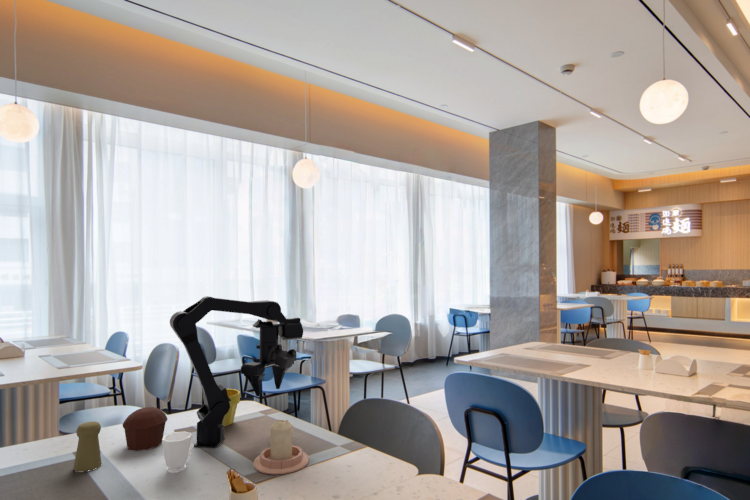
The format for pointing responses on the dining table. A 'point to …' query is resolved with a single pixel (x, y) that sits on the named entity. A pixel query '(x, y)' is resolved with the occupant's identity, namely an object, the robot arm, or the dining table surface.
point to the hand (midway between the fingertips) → (268, 392)
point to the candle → (281, 440)
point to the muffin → (144, 428)
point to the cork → (88, 447)
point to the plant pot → (231, 406)
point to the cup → (177, 450)
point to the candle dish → (281, 462)
